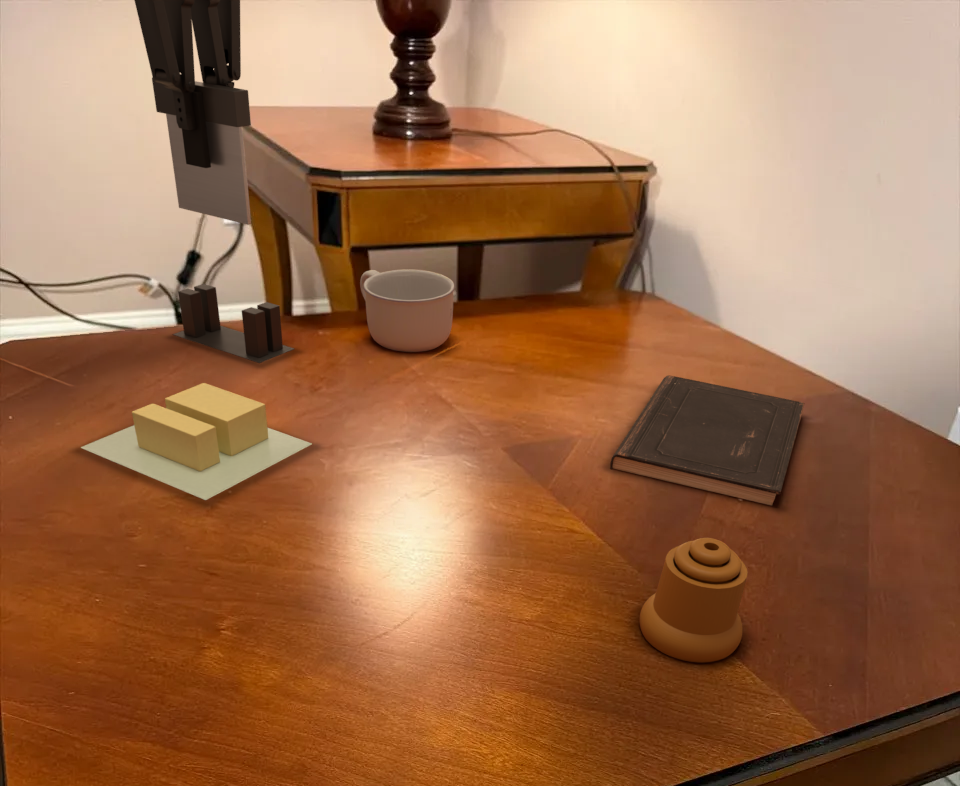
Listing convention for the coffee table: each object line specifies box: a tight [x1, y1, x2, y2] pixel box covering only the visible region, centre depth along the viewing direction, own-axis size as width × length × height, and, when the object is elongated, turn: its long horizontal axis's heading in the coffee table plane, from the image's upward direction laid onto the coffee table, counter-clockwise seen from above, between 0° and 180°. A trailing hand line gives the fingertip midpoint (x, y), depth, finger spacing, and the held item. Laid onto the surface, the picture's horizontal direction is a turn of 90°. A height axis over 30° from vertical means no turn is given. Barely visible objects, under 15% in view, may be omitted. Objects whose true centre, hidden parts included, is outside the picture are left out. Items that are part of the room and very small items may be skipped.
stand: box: [172, 283, 295, 364], centre depth 102 cm, size 14×6×6 cm, turn 58°
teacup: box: [359, 268, 455, 353], centre depth 107 cm, size 14×11×8 cm
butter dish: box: [80, 424, 313, 501], centre depth 82 cm, size 16×14×1 cm
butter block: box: [164, 382, 269, 456], centre depth 83 cm, size 8×5×4 cm, turn 58°
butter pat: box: [131, 403, 220, 471], centre depth 79 cm, size 8×2×4 cm, turn 58°
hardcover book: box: [609, 374, 806, 506], centre depth 90 cm, size 16×23×2 cm
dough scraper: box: [151, 77, 252, 226], centre depth 89 cm, size 11×2×12 cm, turn 59°
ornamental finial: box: [639, 537, 749, 664], centre depth 62 cm, size 8×8×8 cm
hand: (208, 163), depth 90 cm, fingers closed on dough scraper, 2 cm apart
